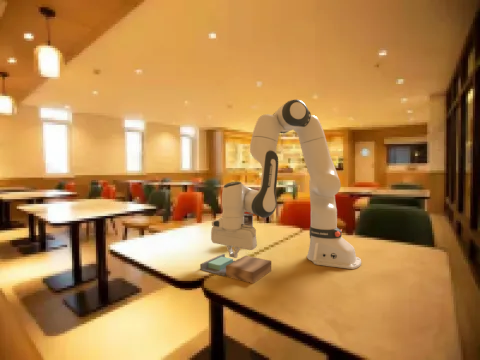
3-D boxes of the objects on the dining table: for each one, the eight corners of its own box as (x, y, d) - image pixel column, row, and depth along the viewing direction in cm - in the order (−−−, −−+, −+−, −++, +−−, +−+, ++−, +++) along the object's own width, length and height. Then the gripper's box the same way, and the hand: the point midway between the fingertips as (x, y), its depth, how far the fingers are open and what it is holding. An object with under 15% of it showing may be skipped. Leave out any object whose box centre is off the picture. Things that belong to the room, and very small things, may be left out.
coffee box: (235, 246, 143) (234, 215, 143) (236, 242, 150) (236, 213, 149) (252, 246, 142) (252, 215, 142) (253, 242, 149) (253, 213, 148)
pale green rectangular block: (221, 256, 120) (221, 260, 120) (208, 262, 112) (208, 267, 112) (232, 258, 116) (232, 263, 117) (219, 265, 109) (219, 270, 109)
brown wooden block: (271, 270, 109) (271, 260, 109) (253, 283, 98) (252, 272, 97) (245, 264, 116) (245, 255, 116) (225, 276, 104) (225, 265, 104)
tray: (245, 264, 117) (245, 258, 116) (224, 276, 104) (224, 270, 104) (223, 259, 123) (222, 253, 123) (200, 269, 111) (200, 264, 111)
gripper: (259, 224, 107) (259, 259, 107) (218, 219, 118) (218, 250, 119) (251, 227, 101) (251, 264, 102) (208, 221, 113) (209, 254, 114)
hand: (233, 257), depth 111 cm, fingers closed
